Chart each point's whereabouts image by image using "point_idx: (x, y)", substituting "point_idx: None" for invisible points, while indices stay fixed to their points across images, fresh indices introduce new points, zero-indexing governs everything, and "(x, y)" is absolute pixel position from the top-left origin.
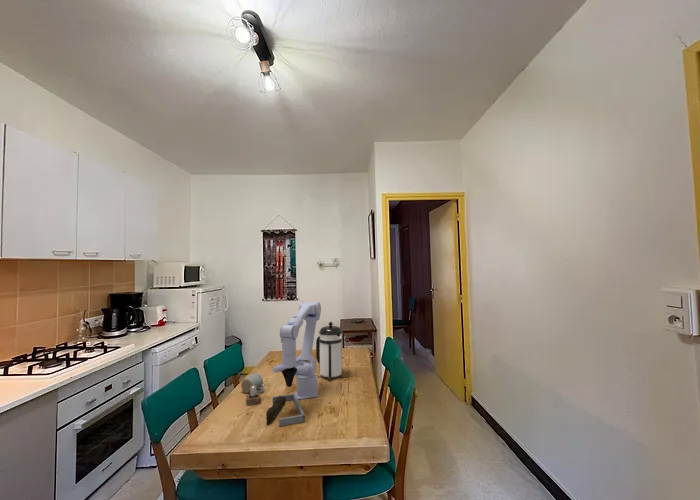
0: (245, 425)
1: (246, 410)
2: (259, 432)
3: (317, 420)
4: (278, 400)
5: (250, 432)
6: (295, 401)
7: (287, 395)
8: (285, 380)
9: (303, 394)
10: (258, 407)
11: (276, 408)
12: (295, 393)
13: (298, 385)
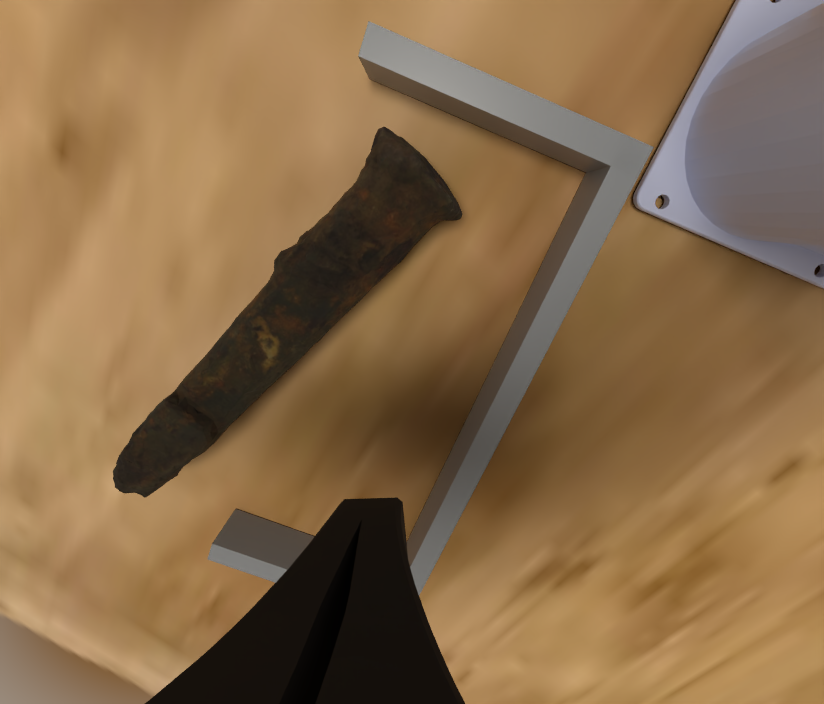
0: (15, 350)
1: (64, 49)
2: (91, 502)
3: (483, 617)
4: (336, 270)
5: (35, 464)
6: (523, 330)
7: (542, 136)
8: (293, 579)
9: (728, 217)
10: (197, 68)
11: (257, 393)
12: (734, 21)
13: (793, 124)
